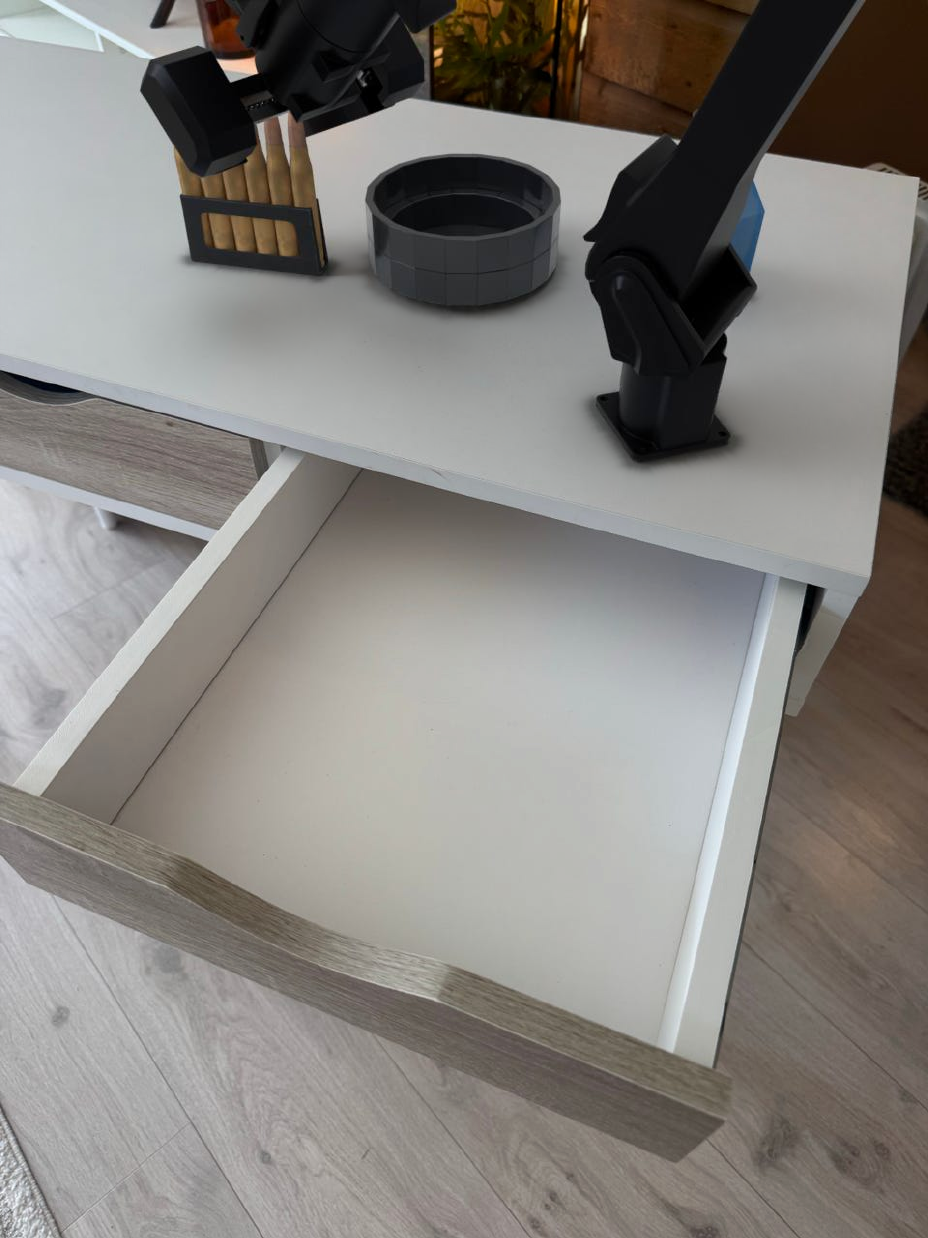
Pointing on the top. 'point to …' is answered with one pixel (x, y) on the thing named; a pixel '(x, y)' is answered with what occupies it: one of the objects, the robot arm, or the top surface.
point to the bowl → (463, 228)
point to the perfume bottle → (748, 227)
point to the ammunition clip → (258, 208)
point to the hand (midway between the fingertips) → (250, 150)
